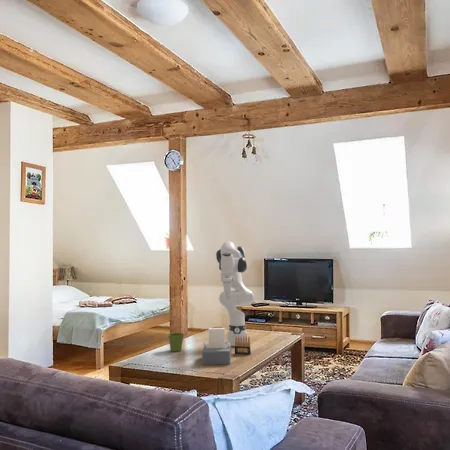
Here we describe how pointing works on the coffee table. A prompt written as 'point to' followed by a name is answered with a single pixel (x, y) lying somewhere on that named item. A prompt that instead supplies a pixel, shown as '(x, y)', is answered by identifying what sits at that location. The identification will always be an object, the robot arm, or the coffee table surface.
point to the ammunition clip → (242, 346)
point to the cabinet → (216, 355)
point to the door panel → (216, 337)
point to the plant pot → (175, 341)
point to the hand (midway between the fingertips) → (227, 299)
